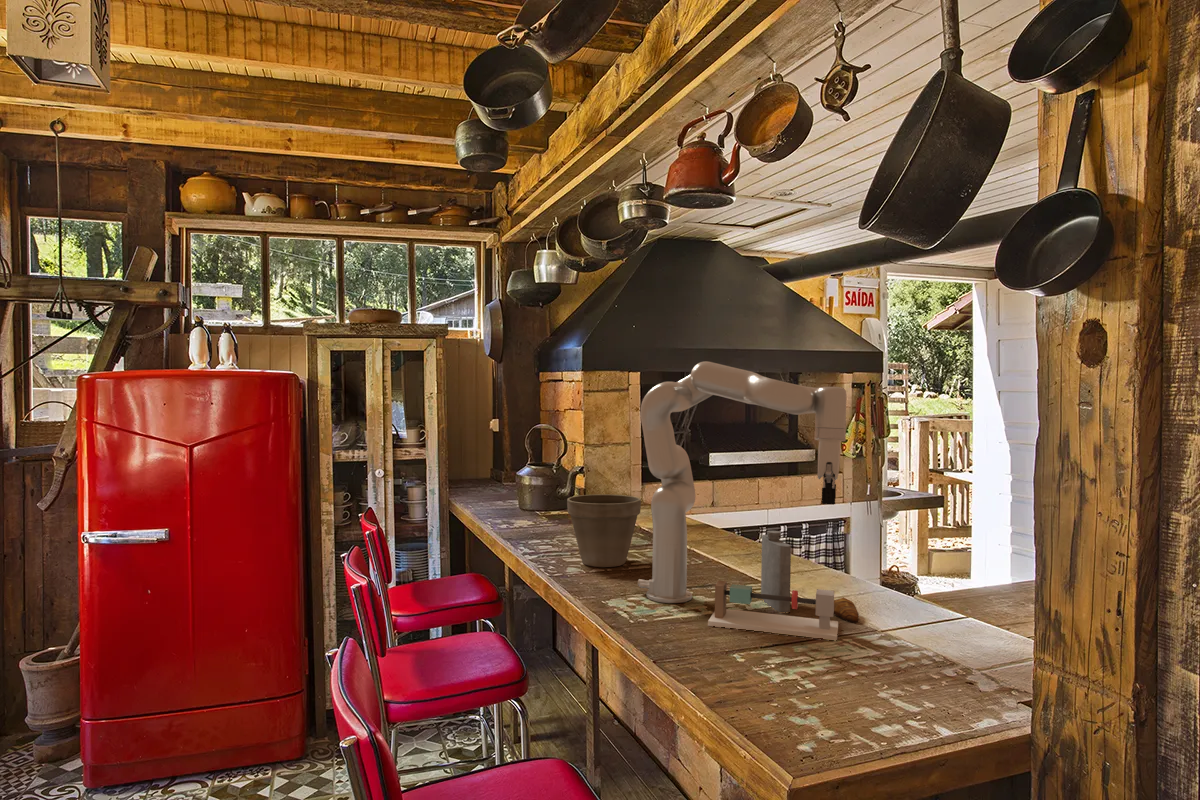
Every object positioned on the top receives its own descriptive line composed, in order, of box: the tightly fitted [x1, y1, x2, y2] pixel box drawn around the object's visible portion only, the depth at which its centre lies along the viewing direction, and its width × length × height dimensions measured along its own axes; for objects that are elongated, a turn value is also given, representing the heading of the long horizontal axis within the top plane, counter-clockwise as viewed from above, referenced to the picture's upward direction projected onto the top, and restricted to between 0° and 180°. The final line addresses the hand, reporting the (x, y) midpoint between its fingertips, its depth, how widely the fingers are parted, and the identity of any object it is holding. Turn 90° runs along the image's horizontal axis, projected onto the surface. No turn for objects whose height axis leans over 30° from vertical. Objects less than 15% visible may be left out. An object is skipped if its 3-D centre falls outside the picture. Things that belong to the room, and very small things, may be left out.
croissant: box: [833, 596, 860, 624], centre depth 188 cm, size 14×7×5 cm, turn 6°
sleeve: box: [729, 583, 753, 605], centre depth 181 cm, size 5×4×4 cm
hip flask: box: [760, 530, 792, 613], centre depth 197 cm, size 16×4×20 cm, turn 7°
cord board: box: [707, 580, 839, 641], centre depth 178 cm, size 30×12×10 cm, turn 71°
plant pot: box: [566, 493, 642, 568], centre depth 244 cm, size 25×25×22 cm
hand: (828, 501), depth 186 cm, fingers open, 9 cm apart
